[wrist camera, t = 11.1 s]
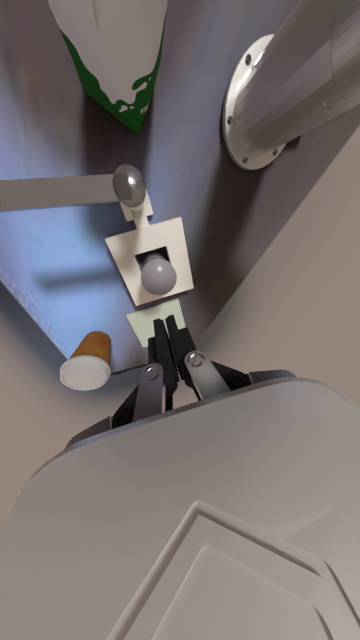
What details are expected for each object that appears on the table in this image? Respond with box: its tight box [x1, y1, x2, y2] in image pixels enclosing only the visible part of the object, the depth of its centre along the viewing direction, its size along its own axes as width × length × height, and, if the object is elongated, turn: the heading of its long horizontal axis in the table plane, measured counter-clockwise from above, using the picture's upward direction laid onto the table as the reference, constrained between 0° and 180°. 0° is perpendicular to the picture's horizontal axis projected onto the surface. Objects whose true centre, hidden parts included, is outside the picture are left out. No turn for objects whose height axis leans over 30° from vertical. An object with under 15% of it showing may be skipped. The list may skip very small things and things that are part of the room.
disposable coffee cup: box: [60, 331, 111, 390], centre depth 36 cm, size 10×10×12 cm
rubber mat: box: [126, 299, 185, 348], centre depth 42 cm, size 14×12×1 cm
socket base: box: [105, 189, 194, 306], centre depth 26 cm, size 14×20×12 cm
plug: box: [141, 251, 177, 295], centre depth 28 cm, size 6×6×10 cm
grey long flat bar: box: [0, 164, 146, 212], centre depth 15 cm, size 19×3×2 cm, turn 95°
